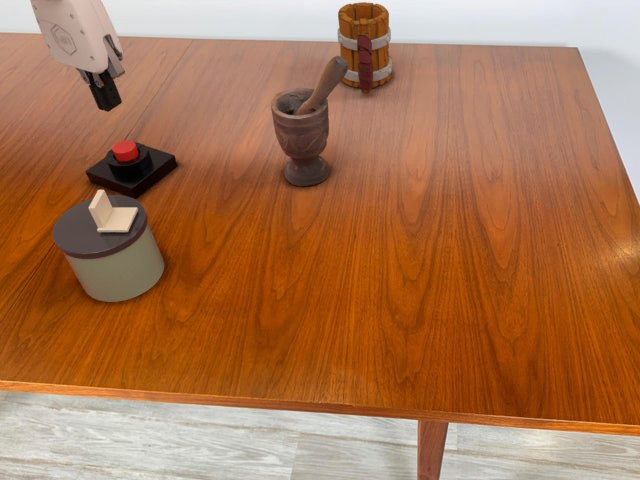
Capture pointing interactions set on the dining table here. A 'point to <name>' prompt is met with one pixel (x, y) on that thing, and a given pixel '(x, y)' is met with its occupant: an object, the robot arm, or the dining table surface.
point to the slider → (111, 214)
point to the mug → (365, 44)
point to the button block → (132, 171)
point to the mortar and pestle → (306, 125)
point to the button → (125, 150)
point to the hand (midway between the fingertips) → (110, 106)
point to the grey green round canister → (109, 252)
